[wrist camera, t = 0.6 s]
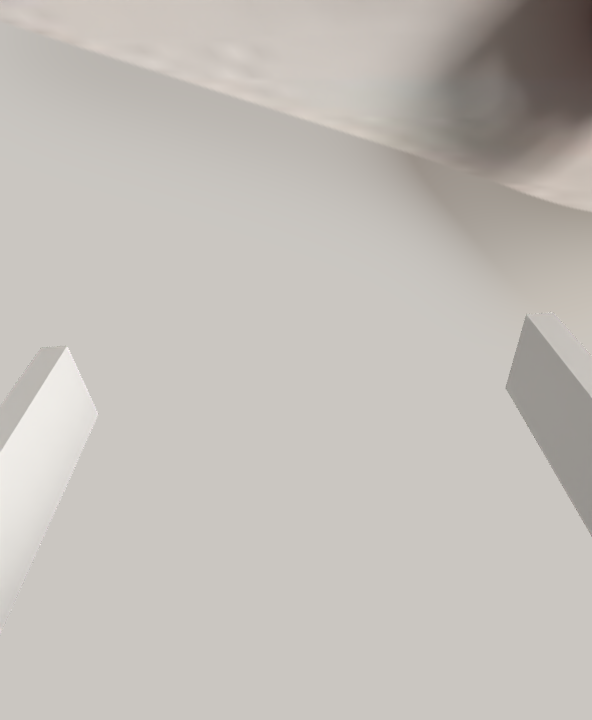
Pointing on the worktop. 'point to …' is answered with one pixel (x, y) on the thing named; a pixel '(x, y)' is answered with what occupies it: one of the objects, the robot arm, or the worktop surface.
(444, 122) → the worktop surface
